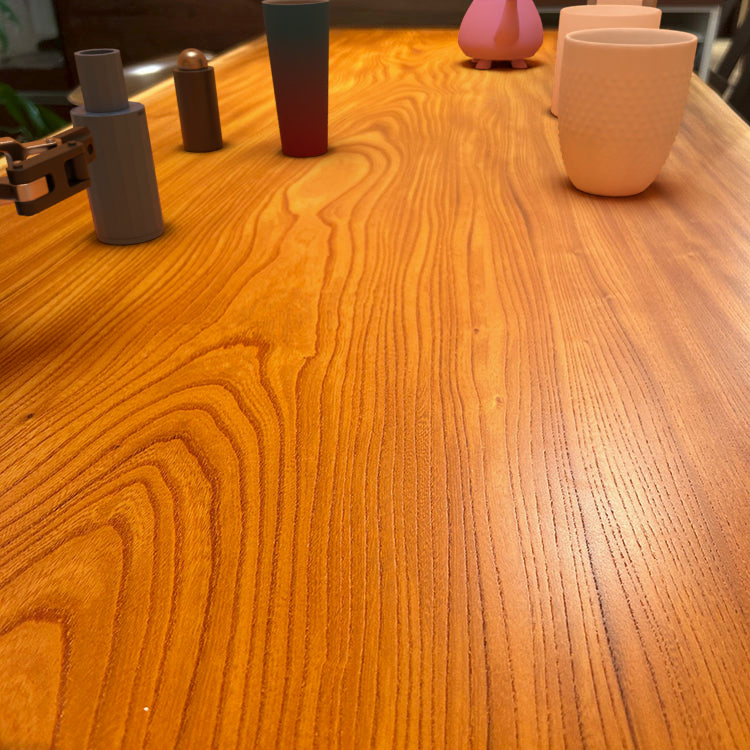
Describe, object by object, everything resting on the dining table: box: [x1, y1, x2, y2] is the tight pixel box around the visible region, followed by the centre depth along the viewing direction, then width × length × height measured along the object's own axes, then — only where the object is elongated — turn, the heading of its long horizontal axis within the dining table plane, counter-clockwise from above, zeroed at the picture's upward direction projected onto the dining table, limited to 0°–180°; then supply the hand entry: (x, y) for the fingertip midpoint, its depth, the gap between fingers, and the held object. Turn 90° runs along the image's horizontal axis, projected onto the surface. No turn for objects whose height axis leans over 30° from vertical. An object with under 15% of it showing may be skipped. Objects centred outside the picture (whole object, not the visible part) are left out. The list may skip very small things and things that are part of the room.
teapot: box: [457, 0, 544, 70], centre depth 128 cm, size 20×14×12 cm
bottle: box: [69, 48, 165, 246], centre depth 61 cm, size 5×5×14 cm
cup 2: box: [550, 4, 663, 118], centre depth 96 cm, size 12×12×12 cm
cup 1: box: [261, 0, 330, 158], centre depth 82 cm, size 7×7×15 cm
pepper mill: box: [172, 47, 224, 153], centre depth 85 cm, size 4×4×10 cm
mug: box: [557, 28, 699, 197], centre depth 71 cm, size 15×11×13 cm
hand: (27, 140), depth 50 cm, fingers open, 8 cm apart
